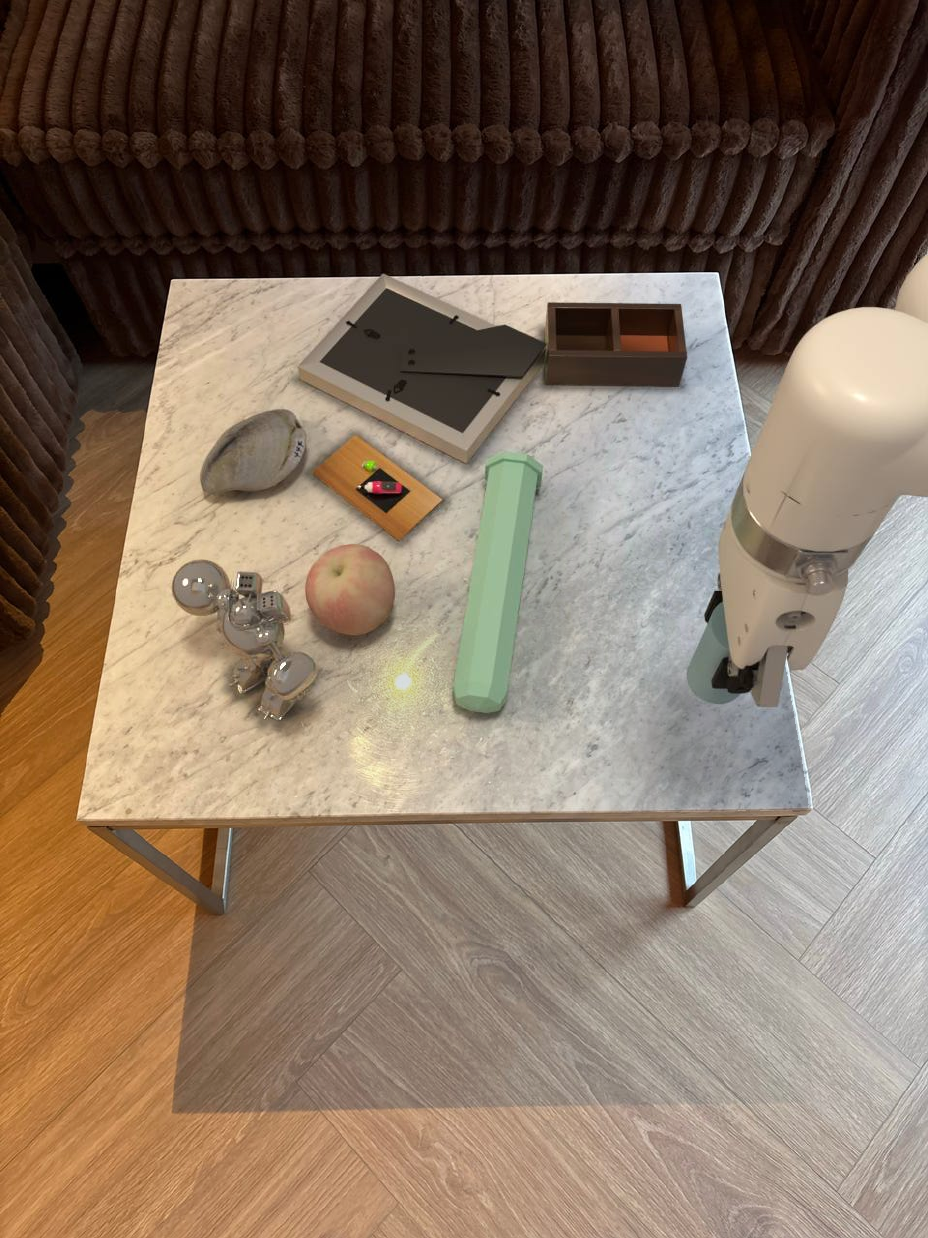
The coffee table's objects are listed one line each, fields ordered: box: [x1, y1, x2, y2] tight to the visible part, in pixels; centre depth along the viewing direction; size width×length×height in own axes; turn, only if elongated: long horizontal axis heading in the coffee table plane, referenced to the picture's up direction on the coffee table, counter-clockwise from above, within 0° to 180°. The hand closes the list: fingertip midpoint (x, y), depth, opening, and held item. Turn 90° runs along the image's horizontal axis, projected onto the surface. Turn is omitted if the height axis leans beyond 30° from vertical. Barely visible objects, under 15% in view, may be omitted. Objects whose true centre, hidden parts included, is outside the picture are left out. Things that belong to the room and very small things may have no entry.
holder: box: [544, 301, 688, 388], centre depth 99 cm, size 7×14×4 cm, turn 89°
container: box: [452, 450, 544, 714], centre depth 86 cm, size 6×6×25 cm
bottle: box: [686, 602, 741, 705], centre depth 68 cm, size 4×4×10 cm
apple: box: [304, 543, 396, 636], centre depth 84 cm, size 8×8×8 cm
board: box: [311, 434, 444, 542], centre depth 93 cm, size 6×12×2 cm, turn 48°
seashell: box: [199, 408, 308, 496], centre depth 93 cm, size 12×8×5 cm
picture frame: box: [297, 273, 547, 465], centre depth 99 cm, size 16×3×21 cm
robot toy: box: [171, 559, 318, 721], centre depth 78 cm, size 15×6×15 cm, turn 46°
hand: (729, 650), depth 68 cm, fingers closed on bottle, 4 cm apart
